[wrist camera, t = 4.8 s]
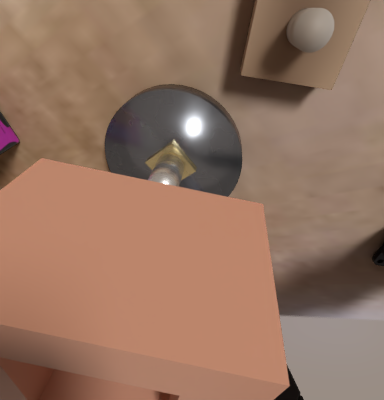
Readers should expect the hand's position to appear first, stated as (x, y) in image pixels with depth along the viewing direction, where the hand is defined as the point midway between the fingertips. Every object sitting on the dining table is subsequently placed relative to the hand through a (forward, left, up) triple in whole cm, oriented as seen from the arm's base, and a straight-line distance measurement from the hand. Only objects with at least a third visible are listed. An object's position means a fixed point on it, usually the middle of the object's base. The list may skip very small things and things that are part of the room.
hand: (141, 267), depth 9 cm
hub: (+1, +2, -12) cm, 12 cm away
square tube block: (0, 0, -1) cm, 1 cm away
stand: (-5, -7, -12) cm, 15 cm away
